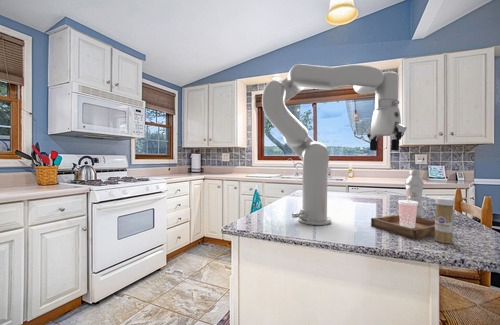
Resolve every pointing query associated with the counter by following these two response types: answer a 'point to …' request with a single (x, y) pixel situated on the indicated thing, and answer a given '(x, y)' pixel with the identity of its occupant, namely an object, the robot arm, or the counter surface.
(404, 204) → the beverage cup
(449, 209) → the sprinkles bottle
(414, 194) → the plastic bottle
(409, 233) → the walnut tray
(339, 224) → the counter surface
